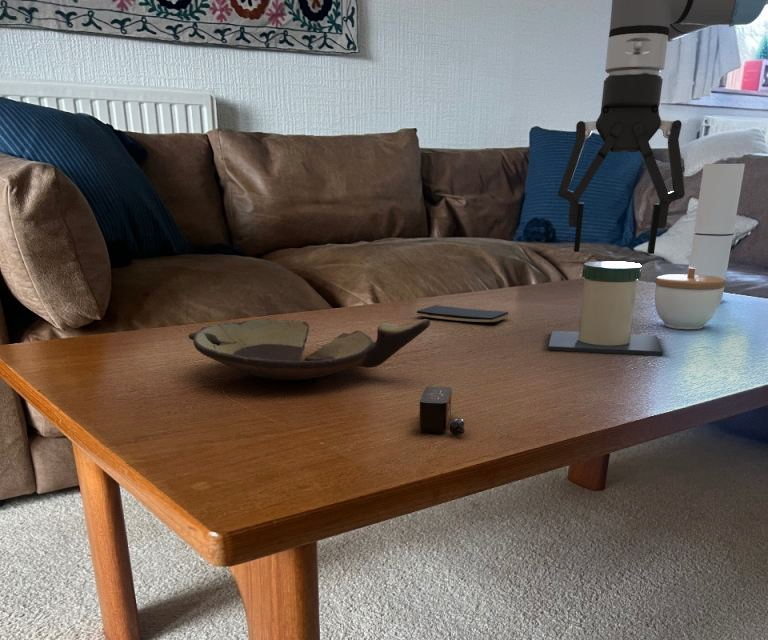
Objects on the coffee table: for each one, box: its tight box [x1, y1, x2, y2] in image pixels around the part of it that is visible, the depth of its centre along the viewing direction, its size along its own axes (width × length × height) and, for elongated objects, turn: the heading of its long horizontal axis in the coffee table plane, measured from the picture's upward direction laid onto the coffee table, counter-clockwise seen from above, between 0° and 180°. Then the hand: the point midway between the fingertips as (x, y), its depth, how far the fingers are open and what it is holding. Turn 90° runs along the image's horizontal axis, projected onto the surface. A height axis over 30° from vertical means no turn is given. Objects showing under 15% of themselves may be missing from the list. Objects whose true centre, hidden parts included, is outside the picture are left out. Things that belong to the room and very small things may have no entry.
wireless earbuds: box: [418, 385, 465, 435], centre depth 80 cm, size 5×7×3 cm, turn 170°
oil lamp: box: [188, 318, 431, 382], centre depth 99 cm, size 22×30×8 cm
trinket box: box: [654, 267, 726, 330], centre depth 129 cm, size 11×11×9 cm
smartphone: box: [416, 304, 510, 323], centre depth 138 cm, size 7×1×15 cm
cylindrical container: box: [687, 163, 746, 303], centre depth 151 cm, size 7×7×25 cm
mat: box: [547, 330, 664, 356], centre depth 118 cm, size 16×12×1 cm
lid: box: [581, 260, 642, 281], centre depth 114 cm, size 8×8×2 cm
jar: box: [578, 277, 639, 346], centre depth 116 cm, size 8×8×10 cm
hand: (613, 251), depth 112 cm, fingers open, 10 cm apart
